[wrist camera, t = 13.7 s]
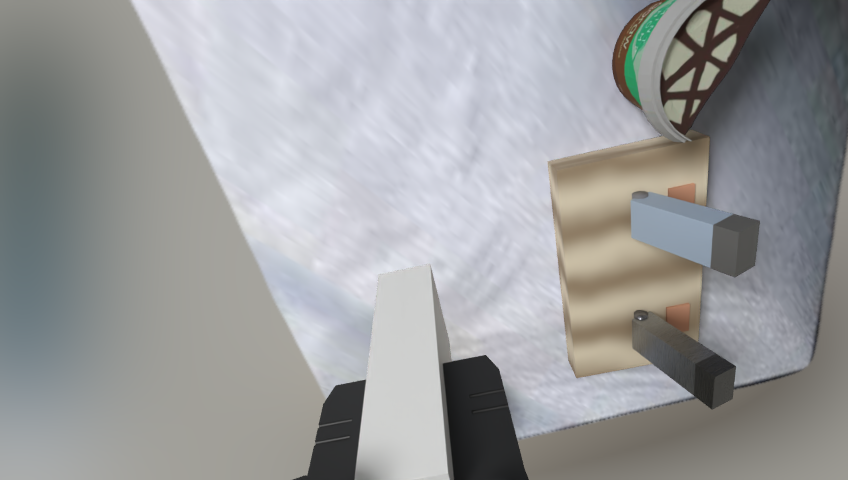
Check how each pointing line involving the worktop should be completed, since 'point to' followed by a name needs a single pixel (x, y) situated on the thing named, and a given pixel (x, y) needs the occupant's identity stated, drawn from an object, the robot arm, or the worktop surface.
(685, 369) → the lever
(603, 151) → the switch board
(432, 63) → the worktop surface
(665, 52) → the food container
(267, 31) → the worktop surface
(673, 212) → the lever
